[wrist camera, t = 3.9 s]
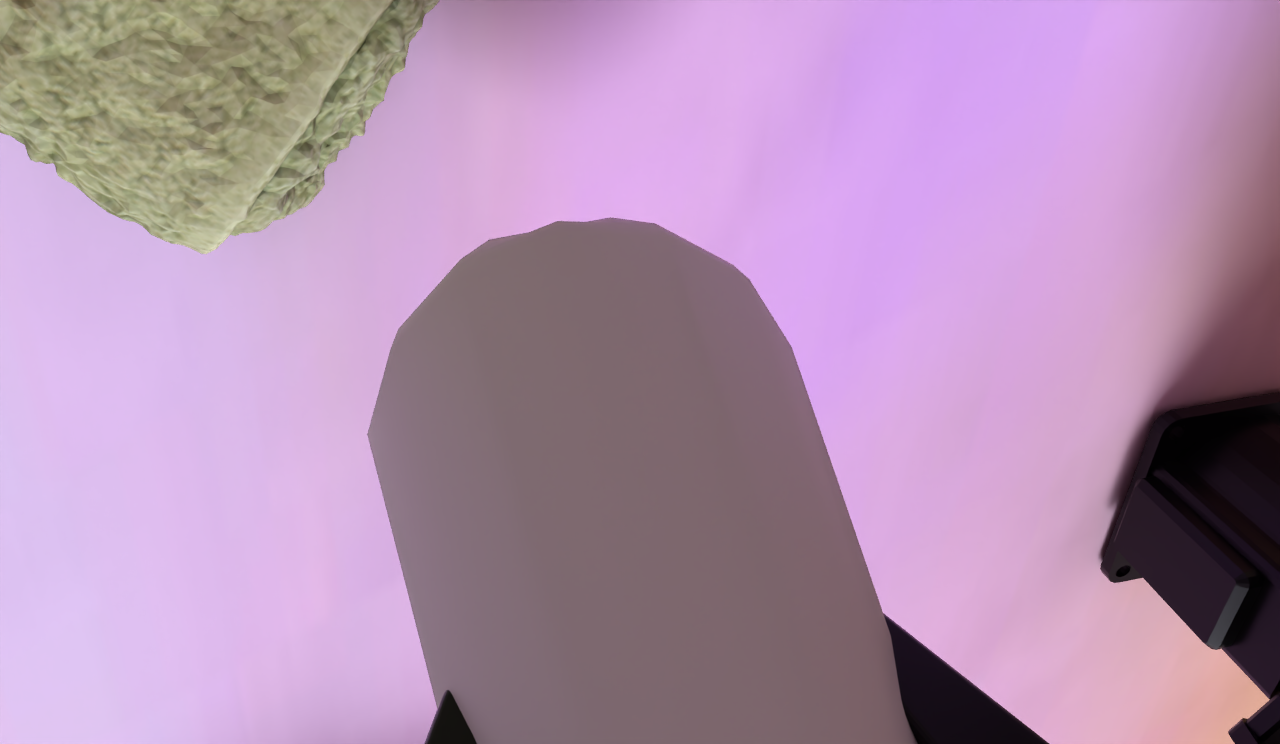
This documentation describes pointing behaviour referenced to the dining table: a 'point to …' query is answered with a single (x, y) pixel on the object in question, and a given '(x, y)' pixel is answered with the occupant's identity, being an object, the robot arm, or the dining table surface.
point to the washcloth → (197, 101)
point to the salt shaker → (624, 504)
